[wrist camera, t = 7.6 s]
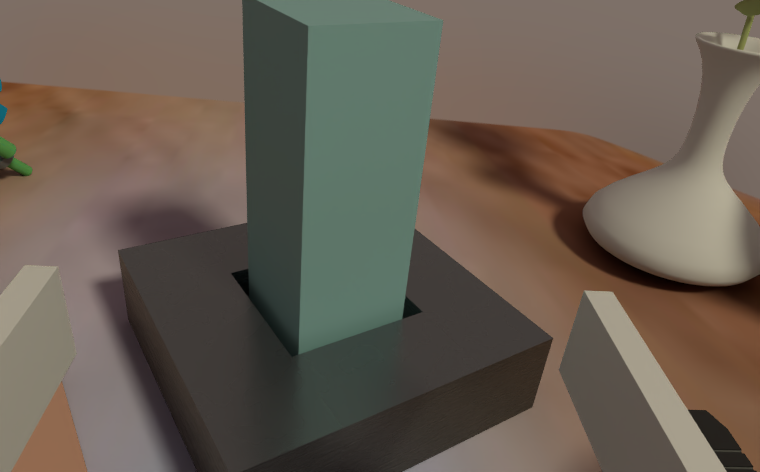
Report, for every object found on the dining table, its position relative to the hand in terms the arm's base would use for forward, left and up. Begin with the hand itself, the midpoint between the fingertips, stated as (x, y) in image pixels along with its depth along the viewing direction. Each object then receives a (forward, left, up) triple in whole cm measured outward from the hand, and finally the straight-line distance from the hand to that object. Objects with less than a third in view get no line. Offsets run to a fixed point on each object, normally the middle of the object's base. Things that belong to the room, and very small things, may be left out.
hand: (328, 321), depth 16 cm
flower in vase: (-7, +31, -10) cm, 33 cm away
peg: (-8, +5, -10) cm, 14 cm away
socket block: (-8, +5, -10) cm, 14 cm away
